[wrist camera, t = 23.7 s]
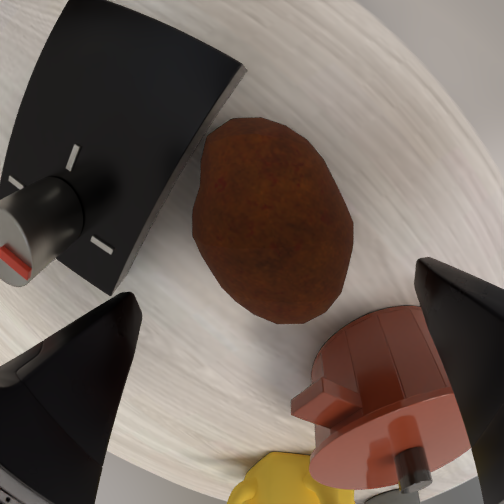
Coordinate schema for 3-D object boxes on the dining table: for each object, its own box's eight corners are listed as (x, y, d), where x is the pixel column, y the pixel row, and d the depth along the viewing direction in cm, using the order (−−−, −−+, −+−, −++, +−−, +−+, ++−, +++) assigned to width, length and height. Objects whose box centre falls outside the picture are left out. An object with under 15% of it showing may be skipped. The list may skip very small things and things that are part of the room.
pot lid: (436, 343, 11) (466, 408, 8) (513, 402, 14) (530, 440, 10) (267, 459, 16) (263, 508, 13) (386, 483, 19) (391, 518, 16)
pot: (362, 252, 17) (403, 342, 10) (484, 354, 20) (518, 417, 14) (250, 366, 22) (240, 455, 15) (392, 425, 25) (405, 488, 18)
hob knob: (25, 221, 15) (-28, 259, 11) (40, 163, 13) (-24, 192, 9) (73, 257, 16) (24, 306, 11) (93, 200, 14) (34, 241, 10)
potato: (340, 112, 14) (382, 120, 8) (337, 278, 18) (359, 358, 12) (198, 119, 14) (148, 133, 9) (219, 282, 19) (195, 361, 13)
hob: (98, -1, 11) (72, -11, 9) (248, 70, 13) (242, 63, 11) (15, 210, 17) (-9, 224, 15) (121, 286, 19) (104, 310, 17)
